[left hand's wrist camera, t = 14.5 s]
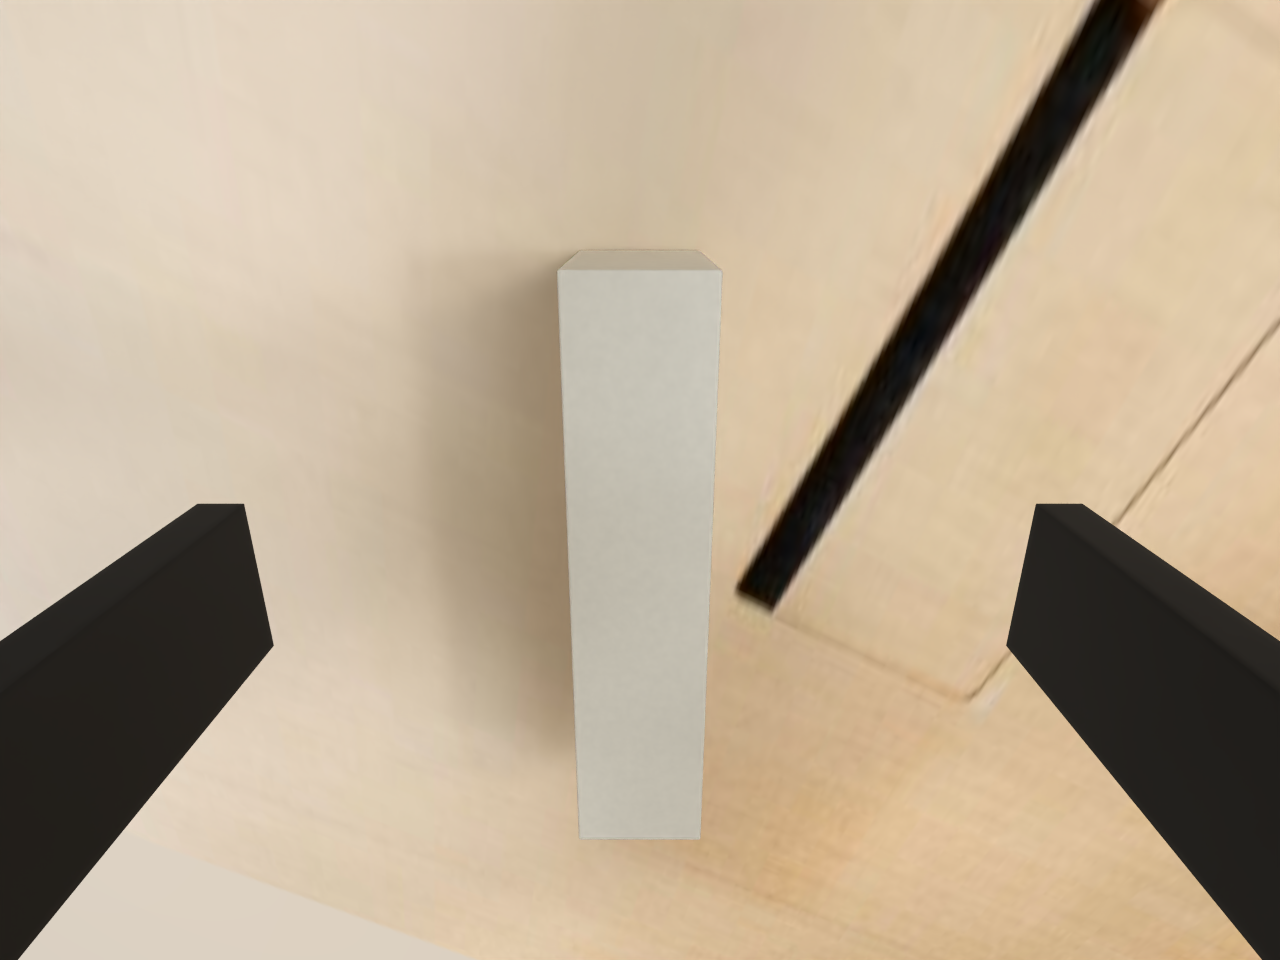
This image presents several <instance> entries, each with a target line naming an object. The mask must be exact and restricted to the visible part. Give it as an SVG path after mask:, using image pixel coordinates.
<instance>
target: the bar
mask: <svg viewBox="0 0 1280 960" xmlns="http://www.w3.org/2000/svg"><path fill="white" fill-rule="evenodd" d="M722 275H723V272H722V270H721V269H720V268H719V267H718V266H717V265H716V264H715V263H714V262H713V261H711V260H710V259H709V258H708V257H707V256H706V255H705V254H704V253H703V252H702V251H700V250H580V251H578V252H577V253H576V254H575V255H574V256H573V257H572V258H571V259H569V260H568V261H567V262H566V263H565V264H564V265H563V266H562V267H560V268H559V269H558V270H557V289H558V314H559V340H560V365H561V391H562V416H563V442H564V467H565V493H566V518H567V544H568V569H569V595H570V620H571V646H572V671H573V697H574V722H575V748H576V773H577V799H578V824H579V838H580V839H667V840H699V839H700V837H701V811H702V786H703V760H704V735H705V709H706V684H707V658H708V633H709V607H710V582H711V556H712V531H713V505H714V479H715V454H716V428H717V403H718V377H719V352H720V326H721V301H722Z"/></svg>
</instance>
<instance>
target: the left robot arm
mask: <svg viewBox="0 0 1280 960" xmlns="http://www.w3.org/2000/svg"><path fill="white" fill-rule="evenodd" d="M273 646H274V645H273V640H272V635H271V630H270V626H269V621H268V616H267V611H266V607H265V602H264V597H263V592H262V587H261V583H260V578H259V573H258V568H257V564H256V559H255V554H254V549H253V545H252V540H251V535H250V530H249V526H248V521H247V516H246V511H245V507H244V504H197V505H195V506H194V507H192V508H191V509H190V510H188V511H187V512H185V513H184V514H182V515H181V516H179V517H178V518H177V519H175V520H174V521H172V522H171V523H169V524H168V525H167V526H165V527H164V528H162V529H161V530H159V531H158V532H156V533H155V534H154V535H152V536H151V537H149V538H148V539H146V540H145V541H144V542H142V543H141V544H139V545H138V546H136V547H135V548H133V549H132V550H131V551H129V552H128V553H126V554H125V555H123V556H122V557H121V558H119V559H118V560H116V561H115V562H113V563H112V564H111V565H109V566H108V567H106V568H105V569H103V570H102V571H100V572H99V573H98V574H96V575H95V576H93V577H92V578H90V579H89V580H88V581H86V582H85V583H83V584H82V585H80V586H79V587H77V588H76V589H75V590H73V591H72V592H70V593H69V594H67V595H66V596H65V597H63V598H62V599H60V600H59V601H57V602H56V603H54V604H53V605H52V606H50V607H49V608H47V609H46V610H44V611H43V612H42V613H40V614H39V615H37V616H36V617H34V618H33V619H31V620H30V621H29V622H27V623H26V624H24V625H23V626H21V627H20V628H19V629H17V630H16V631H14V632H13V633H11V634H10V635H8V636H7V637H6V638H4V639H3V640H1V641H0V960H18V959H19V958H20V956H21V955H22V954H23V953H24V951H25V950H26V949H27V948H28V947H29V945H30V944H31V943H32V942H33V940H34V939H35V938H36V937H37V936H38V934H39V933H40V932H41V931H42V929H43V928H44V927H45V926H46V924H47V923H48V922H49V921H50V920H51V918H52V917H53V916H54V915H55V913H56V912H57V911H58V910H59V909H60V907H61V906H62V905H63V904H64V902H65V901H66V900H67V899H68V897H69V896H70V895H71V894H72V893H73V891H74V890H75V889H76V888H77V886H78V885H79V884H80V883H81V882H82V880H83V879H84V878H85V877H86V875H87V874H88V873H89V872H90V870H91V869H92V868H93V867H94V866H95V864H96V863H97V862H98V861H99V859H100V858H101V857H102V856H103V855H104V853H105V852H106V851H107V850H108V848H109V847H110V846H111V845H112V843H113V842H114V841H115V840H116V839H117V837H118V836H119V835H120V834H121V832H122V831H123V830H124V829H125V828H126V826H127V825H128V824H129V823H130V821H131V820H132V819H133V818H134V816H135V815H136V814H137V813H138V812H139V810H140V809H141V808H142V807H143V805H144V804H145V803H146V802H147V801H148V799H149V798H150V797H151V796H152V794H153V793H154V792H155V791H156V789H157V788H158V787H159V786H160V785H161V783H162V782H163V781H164V780H165V778H166V777H167V776H168V775H169V774H170V772H171V771H172V770H173V769H174V767H175V766H176V765H177V764H178V762H179V761H180V760H181V759H182V758H183V756H184V755H185V754H186V753H187V751H188V750H189V749H190V748H191V747H192V745H193V744H194V743H195V742H196V740H197V739H198V738H199V737H200V735H201V734H202V733H203V732H204V731H205V729H206V728H207V727H208V726H209V724H210V723H211V722H212V721H213V720H214V718H215V717H216V716H217V715H218V713H219V712H220V711H221V710H222V708H223V707H224V706H225V705H226V704H227V702H228V701H229V700H230V699H231V697H232V696H233V695H234V694H235V693H236V691H237V690H238V689H239V688H240V686H241V685H242V684H243V683H244V681H245V680H246V679H247V678H248V677H249V675H250V674H251V673H252V672H253V670H254V669H255V668H256V667H257V666H258V664H259V663H260V662H261V661H262V659H263V658H264V657H265V656H266V654H267V653H268V652H269V651H270V650H271V648H272V647H273ZM1006 646H1007V647H1008V648H1009V650H1010V651H1011V652H1012V653H1013V654H1014V656H1015V657H1016V658H1017V659H1018V661H1019V662H1020V663H1021V664H1022V666H1023V667H1024V668H1025V669H1026V670H1027V672H1028V673H1029V674H1030V675H1031V677H1032V678H1033V679H1034V680H1035V681H1036V683H1037V684H1038V685H1039V686H1040V688H1041V689H1042V690H1043V691H1044V693H1045V694H1046V695H1047V696H1048V697H1049V699H1050V700H1051V701H1052V702H1053V704H1054V705H1055V706H1056V707H1057V708H1058V710H1059V711H1060V712H1061V713H1062V715H1063V716H1064V717H1065V718H1066V720H1067V721H1068V722H1069V723H1070V724H1071V726H1072V727H1073V728H1074V729H1075V731H1076V732H1077V733H1078V734H1079V735H1080V737H1081V738H1082V739H1083V740H1084V742H1085V743H1086V744H1087V745H1088V747H1089V748H1090V749H1091V750H1092V751H1093V753H1094V754H1095V755H1096V756H1097V758H1098V759H1099V760H1100V761H1101V762H1102V764H1103V765H1104V766H1105V767H1106V769H1107V770H1108V771H1109V772H1110V774H1111V775H1112V776H1113V777H1114V778H1115V780H1116V781H1117V782H1118V783H1119V785H1120V786H1121V787H1122V788H1123V789H1124V791H1125V792H1126V793H1127V794H1128V796H1129V797H1130V798H1131V799H1132V801H1133V802H1134V803H1135V804H1136V805H1137V807H1138V808H1139V809H1140V810H1141V812H1142V813H1143V814H1144V815H1145V816H1146V818H1147V819H1148V820H1149V821H1150V823H1151V824H1152V825H1153V826H1154V828H1155V829H1156V830H1157V831H1158V832H1159V834H1160V835H1161V836H1162V837H1163V839H1164V840H1165V841H1166V842H1167V843H1168V845H1169V846H1170V847H1171V848H1172V850H1173V851H1174V852H1175V853H1176V855H1177V856H1178V857H1179V858H1180V859H1181V861H1182V862H1183V863H1184V864H1185V866H1186V867H1187V868H1188V869H1189V870H1190V872H1191V873H1192V874H1193V875H1194V877H1195V878H1196V879H1197V880H1198V882H1199V883H1200V884H1201V885H1202V886H1203V888H1204V889H1205V890H1206V891H1207V893H1208V894H1209V895H1210V896H1211V897H1212V899H1213V900H1214V901H1215V902H1216V904H1217V905H1218V906H1219V907H1220V909H1221V910H1222V911H1223V912H1224V913H1225V915H1226V916H1227V917H1228V918H1229V920H1230V921H1231V922H1232V923H1233V925H1234V926H1235V927H1236V928H1237V929H1238V931H1239V932H1240V933H1241V934H1242V936H1243V937H1244V938H1245V939H1246V940H1247V942H1248V943H1249V944H1250V945H1251V947H1252V948H1253V949H1254V950H1255V952H1256V953H1257V954H1258V955H1259V956H1260V958H1261V959H1262V960H1280V641H1279V640H1277V639H1276V638H1274V637H1273V636H1272V635H1270V634H1269V633H1267V632H1266V631H1264V630H1263V629H1261V628H1260V627H1259V626H1257V625H1256V624H1254V623H1253V622H1251V621H1250V620H1249V619H1247V618H1246V617H1244V616H1243V615H1241V614H1240V613H1238V612H1237V611H1236V610H1234V609H1233V608H1231V607H1230V606H1228V605H1227V604H1226V603H1224V602H1223V601H1221V600H1220V599H1218V598H1217V597H1215V596H1214V595H1213V594H1211V593H1210V592H1208V591H1207V590H1205V589H1204V588H1203V587H1201V586H1200V585H1198V584H1197V583H1195V582H1194V581H1192V580H1191V579H1190V578H1188V577H1187V576H1185V575H1184V574H1182V573H1181V572H1180V571H1178V570H1177V569H1175V568H1174V567H1172V566H1171V565H1169V564H1168V563H1167V562H1165V561H1164V560H1162V559H1161V558H1159V557H1158V556H1157V555H1155V554H1154V553H1152V552H1151V551H1149V550H1148V549H1147V548H1145V547H1144V546H1142V545H1141V544H1139V543H1138V542H1136V541H1135V540H1134V539H1132V538H1131V537H1129V536H1128V535H1126V534H1125V533H1124V532H1122V531H1121V530H1119V529H1118V528H1116V527H1115V526H1113V525H1112V524H1111V523H1109V522H1108V521H1106V520H1105V519H1103V518H1102V517H1101V516H1099V515H1098V514H1096V513H1095V512H1093V511H1092V510H1090V509H1089V508H1088V507H1086V506H1085V505H1083V504H1036V507H1035V511H1034V516H1033V521H1032V526H1031V530H1030V535H1029V540H1028V545H1027V549H1026V554H1025V559H1024V564H1023V568H1022V573H1021V578H1020V583H1019V587H1018V592H1017V597H1016V602H1015V607H1014V611H1013V616H1012V621H1011V626H1010V630H1009V635H1008V640H1007V645H1006Z"/></svg>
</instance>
